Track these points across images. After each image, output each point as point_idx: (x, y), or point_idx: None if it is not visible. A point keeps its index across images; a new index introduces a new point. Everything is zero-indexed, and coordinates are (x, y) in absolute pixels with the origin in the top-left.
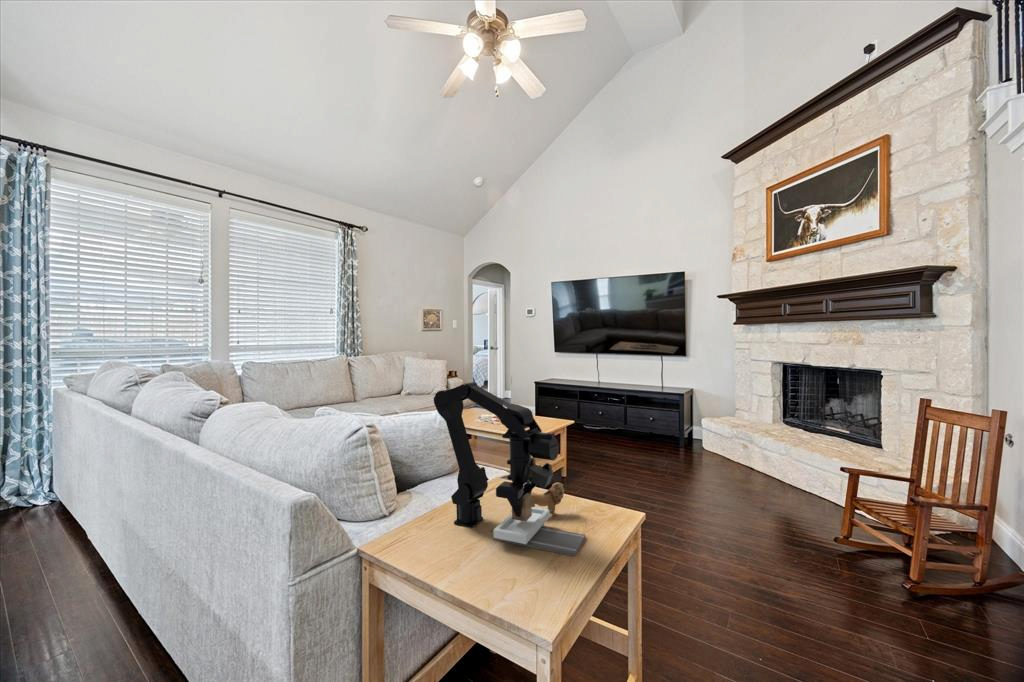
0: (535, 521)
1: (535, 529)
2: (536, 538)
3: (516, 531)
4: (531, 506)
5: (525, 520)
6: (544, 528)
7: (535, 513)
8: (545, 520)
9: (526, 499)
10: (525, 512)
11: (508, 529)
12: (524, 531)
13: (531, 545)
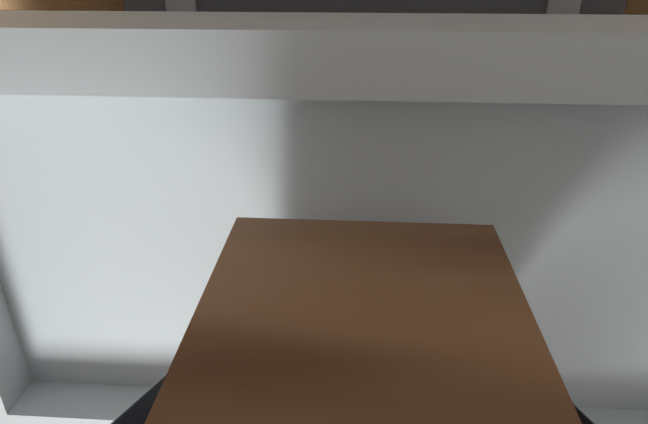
0: (371, 92)
1: (517, 22)
2: (455, 4)
3: (642, 254)
4: (194, 313)
5: (496, 240)
6: (151, 6)
7: (7, 216)
8: (77, 12)
9: None
10: (535, 326)
11: (595, 354)
12: (624, 157)
13: (616, 7)
